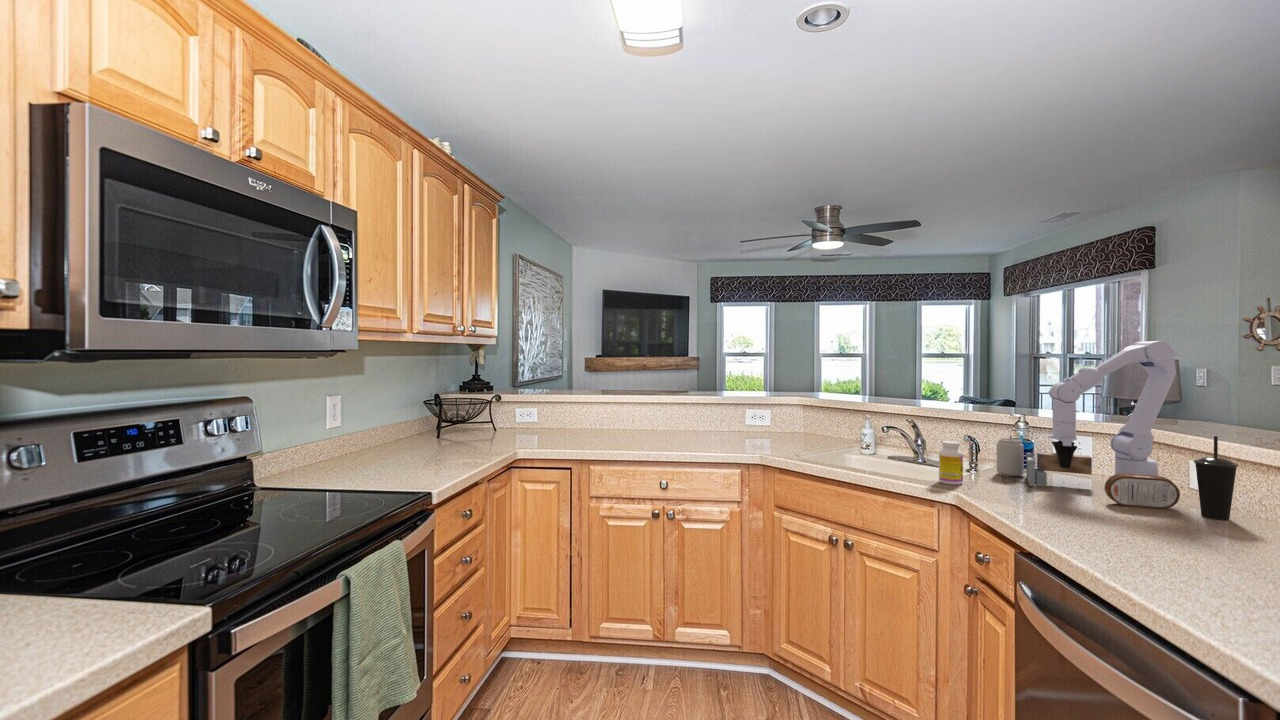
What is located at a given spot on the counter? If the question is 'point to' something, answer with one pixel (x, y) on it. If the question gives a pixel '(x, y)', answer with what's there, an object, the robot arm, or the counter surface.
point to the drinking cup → (1215, 485)
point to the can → (1010, 457)
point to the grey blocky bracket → (1035, 473)
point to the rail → (1051, 463)
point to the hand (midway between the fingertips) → (1064, 466)
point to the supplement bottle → (950, 463)
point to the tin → (1142, 491)
